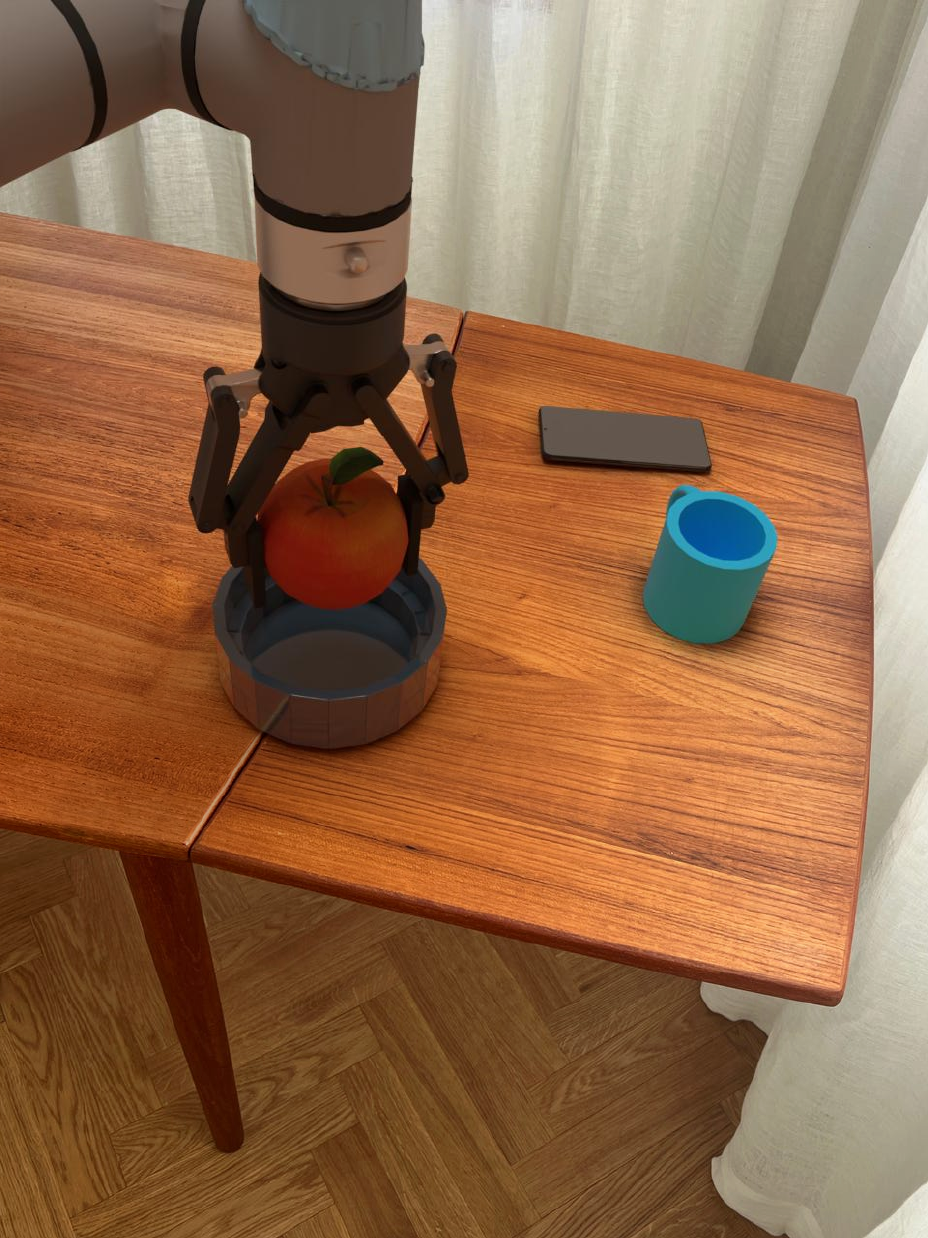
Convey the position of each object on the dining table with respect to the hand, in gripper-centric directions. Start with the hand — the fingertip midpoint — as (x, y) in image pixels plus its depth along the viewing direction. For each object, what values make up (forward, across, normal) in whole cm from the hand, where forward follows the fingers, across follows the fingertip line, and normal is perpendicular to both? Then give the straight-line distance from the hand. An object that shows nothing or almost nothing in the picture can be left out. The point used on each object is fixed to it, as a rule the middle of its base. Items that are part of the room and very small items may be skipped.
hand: (331, 576), depth 73 cm
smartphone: (+9, +32, +16) cm, 37 cm away
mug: (+9, +29, -1) cm, 30 cm away
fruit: (+1, 0, 0) cm, 1 cm away
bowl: (+9, 0, 0) cm, 9 cm away
